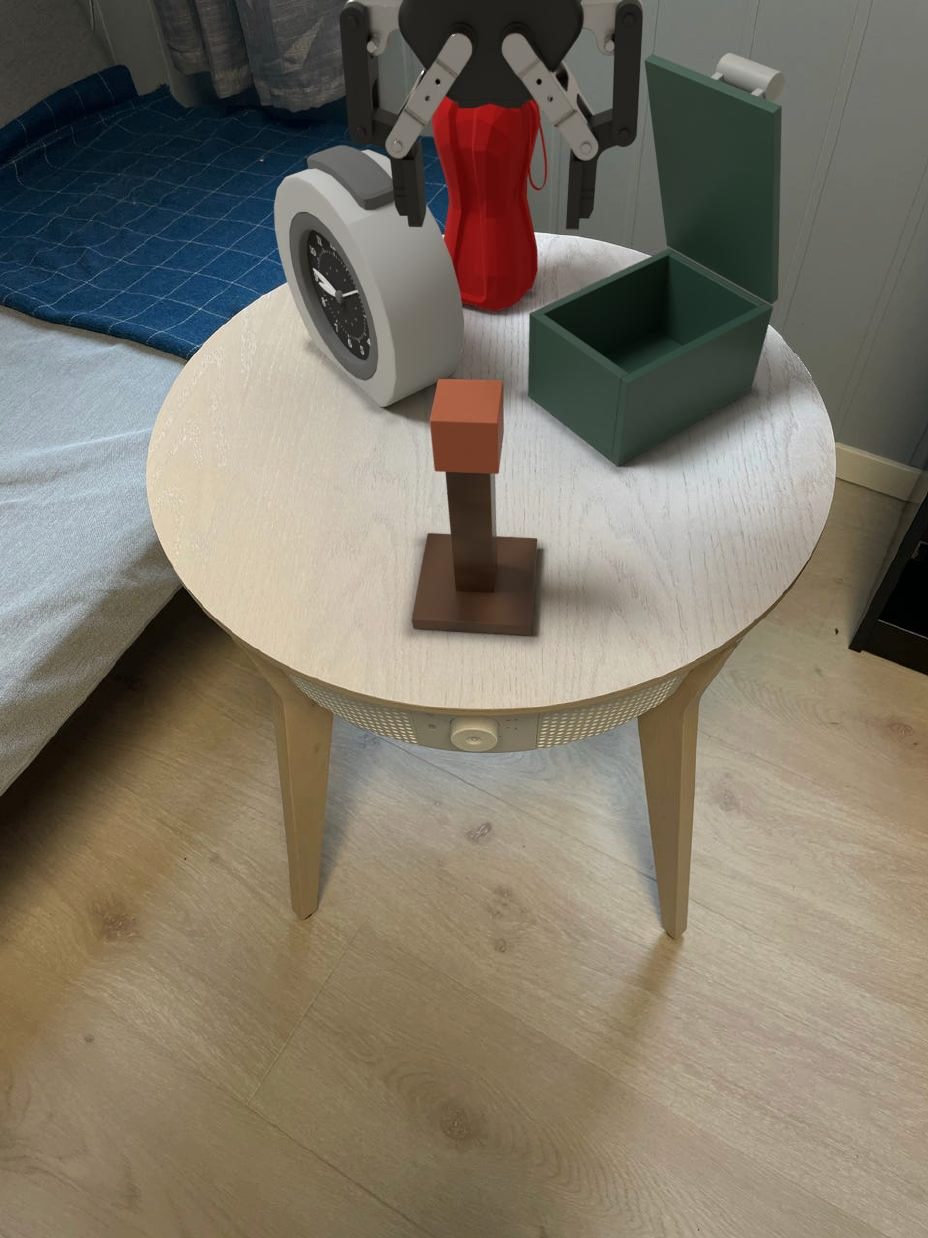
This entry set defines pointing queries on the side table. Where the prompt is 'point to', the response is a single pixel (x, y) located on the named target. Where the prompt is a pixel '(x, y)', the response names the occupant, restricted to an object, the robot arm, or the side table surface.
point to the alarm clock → (368, 275)
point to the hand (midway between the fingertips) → (494, 221)
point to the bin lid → (720, 166)
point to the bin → (645, 353)
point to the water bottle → (489, 199)
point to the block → (467, 426)
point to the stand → (475, 567)
